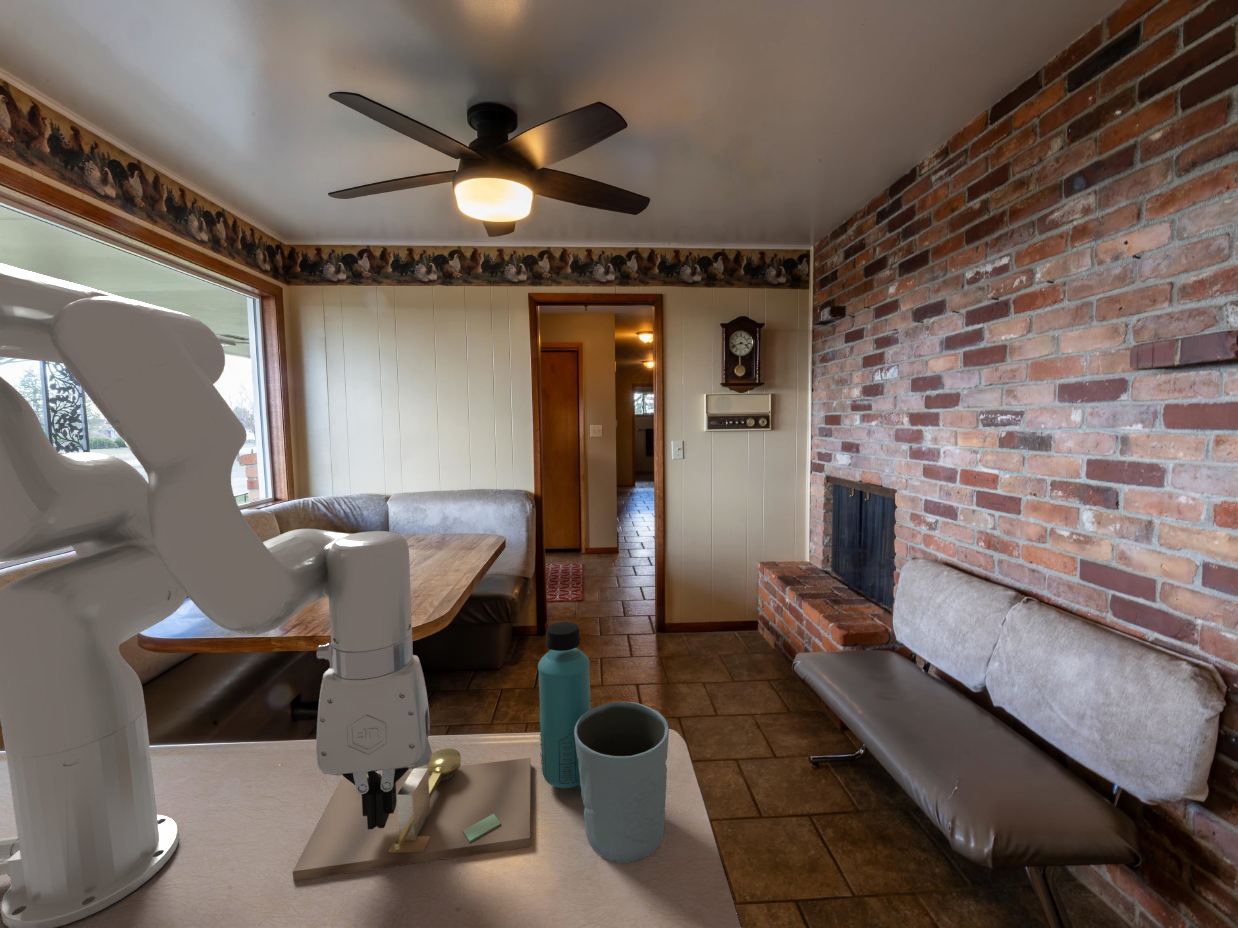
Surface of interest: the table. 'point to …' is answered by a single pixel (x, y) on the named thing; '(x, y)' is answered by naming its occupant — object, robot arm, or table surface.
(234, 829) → the table surface
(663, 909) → the table surface
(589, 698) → the beverage bottle
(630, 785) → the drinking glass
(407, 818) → the gold and silver piece
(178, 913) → the table surface
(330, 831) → the cutting board
